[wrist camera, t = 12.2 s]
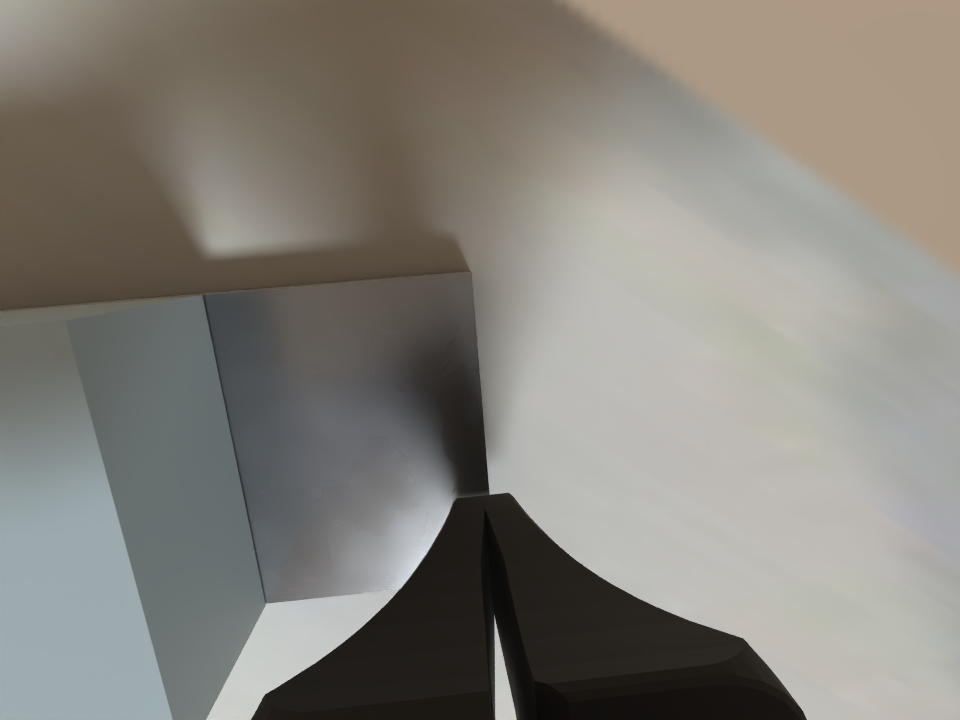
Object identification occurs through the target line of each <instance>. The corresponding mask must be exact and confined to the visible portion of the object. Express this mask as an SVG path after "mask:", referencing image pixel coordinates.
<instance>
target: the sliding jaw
mask: <svg viewBox="0 0 960 720" xmlns="http://www.w3.org/2000/svg"><path fill="white" fill-rule="evenodd" d="M265 605H266V604H265V599H264V594H263V589H262V584H261V579H260V575H259V570H258V565H257V560H256V555H255V550H254V545H253V540H252V535H251V531H250V526H249V521H248V516H247V511H246V506H245V501H244V496H243V491H242V487H241V482H240V477H239V472H238V467H237V462H236V457H235V452H234V447H233V442H232V438H231V433H230V428H229V423H228V418H227V413H226V408H225V403H224V398H223V394H222V389H221V384H220V379H219V374H218V369H217V364H216V359H215V354H214V350H213V345H212V340H211V335H210V330H209V325H208V320H207V315H206V310H205V306H204V301H203V296H202V295H197V296H185V297H173V298H161V299H148V300H136V301H124V302H112V303H100V304H88V305H76V306H64V307H52V308H40V309H28V310H16V311H4V312H0V720H206V718H207V716H208V715H209V713H210V711H211V709H212V707H213V705H214V703H215V701H216V699H217V697H218V695H219V693H220V692H221V690H222V688H223V686H224V684H225V682H226V680H227V678H228V676H229V674H230V672H231V670H232V668H233V667H234V665H235V663H236V661H237V659H238V657H239V655H240V653H241V651H242V649H243V647H244V645H245V644H246V642H247V640H248V638H249V636H250V634H251V632H252V630H253V628H254V626H255V624H256V622H257V621H258V619H259V617H260V615H261V613H262V611H263V609H264V607H265Z"/></svg>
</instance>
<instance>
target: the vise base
mask: <svg viewBox="0 0 960 720" xmlns="http://www.w3.org/2000/svg"><path fill="white" fill-rule="evenodd" d="M197 295H202V296H203V301H204V306H205V310H206V315H207V320H208V325H209V330H210V335H211V340H212V345H213V350H214V354H215V359H216V364H217V369H218V374H219V379H220V384H221V389H222V394H223V398H224V403H225V408H226V413H227V418H228V423H229V428H230V433H231V438H232V442H233V447H234V452H235V457H236V462H237V467H238V472H239V477H240V482H241V487H242V491H243V496H244V501H245V506H246V511H247V516H248V521H249V526H250V531H251V535H252V540H253V545H254V550H255V555H256V560H257V565H258V570H259V575H260V579H261V584H262V589H263V594H264V599H265V604H266V603H275V602H285V601H294V600H304V599H313V598H322V597H332V596H341V595H351V594H360V593H369V592H379V591H388V590H397V589H401V587H402V586H403V585H404V584H405V583H406V581H407V580H408V579H409V577H410V576H411V575H412V574H413V572H414V571H415V570H416V568H417V567H418V565H419V564H420V562H421V561H422V559H423V558H424V556H425V555H426V554H427V552H428V551H429V549H430V547H431V546H432V544H433V542H434V541H435V539H436V537H437V535H438V534H439V532H440V530H441V528H442V526H443V524H444V522H445V520H446V518H447V516H448V514H449V512H450V509H451V507H452V503H453V502H454V501H455V500H456V499H457V498H465V497H474V496H484V495H489V484H488V472H487V459H486V447H485V435H484V423H483V410H482V398H481V386H480V374H479V361H478V349H477V337H476V325H475V312H474V300H473V288H472V276H471V272H470V271H465V272H453V273H441V274H429V275H417V276H404V277H392V278H380V279H368V280H356V281H344V282H332V283H320V284H308V285H296V286H284V287H272V288H259V289H247V290H235V291H223V292H211V293H199V294H187V295H175V296H163V297H151V298H139V299H127V300H114V301H102V302H90V303H78V304H66V305H54V306H42V307H30V308H18V309H6V310H0V312H4V311H16V310H28V309H40V308H52V307H64V306H76V305H88V304H100V303H112V302H124V301H136V300H148V299H161V298H173V297H185V296H197Z"/></svg>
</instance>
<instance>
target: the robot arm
mask: <svg viewBox="0 0 960 720" xmlns="http://www.w3.org/2000/svg"><path fill="white" fill-rule="evenodd" d="M494 615H495V619H496V624H497V629H498V633H499V638H500V643H501V647H502V652H503V656H504V661H505V666H506V670H507V675H508V679H509V684H510V689H511V693H512V698H513V702H514V707H515V712H516V718H517V720H807V719H806V717H805V715H804V713H803V711H802V709H801V708H800V707H799V705H798V704H797V703H796V701H795V700H794V699H793V697H792V696H791V695H790V693H789V692H788V691H787V689H786V688H785V687H784V685H783V684H782V683H781V681H780V680H779V679H778V678H777V677H776V675H775V674H774V673H773V672H772V670H771V669H770V668H769V667H768V665H767V664H766V663H765V662H764V661H763V660H762V659H761V658H760V657H759V656H758V654H757V653H756V652H755V651H754V650H753V649H752V648H751V647H750V646H749V644H748V643H747V642H746V641H745V640H744V639H743V638H740V637H737V636H734V635H731V634H728V633H725V632H722V631H719V630H716V629H713V628H710V627H707V626H704V625H701V624H697V623H694V622H691V621H689V620H686V619H683V618H681V617H679V616H676V615H674V614H672V613H669V612H667V611H664V610H662V609H660V608H657V607H655V606H653V605H651V604H649V603H647V602H644V601H642V600H640V599H638V598H636V597H634V596H632V595H631V594H629V593H627V592H625V591H623V590H621V589H620V588H618V587H616V586H614V585H612V584H611V583H609V582H607V581H606V580H604V579H602V578H601V577H599V576H598V575H596V574H595V573H593V572H592V571H590V570H589V569H587V568H586V567H584V566H583V565H582V564H580V563H579V562H577V561H576V560H575V559H573V558H572V557H571V556H570V555H569V554H567V553H566V552H565V551H564V550H563V549H562V548H560V547H559V546H558V545H557V544H556V543H555V542H554V541H553V540H552V539H551V538H550V537H549V536H548V535H547V534H546V533H545V532H544V531H543V530H542V529H541V528H540V527H539V526H538V525H537V524H536V523H535V522H534V521H533V520H532V519H531V518H530V517H529V516H528V514H527V513H526V512H525V511H524V510H523V508H522V507H521V506H520V505H519V503H518V502H517V501H516V499H515V498H514V497H513V496H512V495H511V494H510V493H503V494H494V495H484V496H474V497H465V498H457V499H456V500H455V501H454V502H453V503H452V507H451V509H450V512H449V514H448V516H447V518H446V520H445V522H444V524H443V526H442V528H441V530H440V532H439V534H438V535H437V537H436V539H435V541H434V542H433V544H432V546H431V547H430V549H429V551H428V552H427V554H426V555H425V556H424V558H423V559H422V561H421V562H420V564H419V565H418V567H417V568H416V570H415V571H414V572H413V574H412V575H411V576H410V577H409V579H408V580H407V581H406V583H405V584H404V585H403V586H402V587H401V589H400V590H399V591H398V592H397V593H396V594H395V596H394V597H393V598H392V599H391V600H390V601H389V602H388V603H387V604H386V605H385V606H384V607H383V608H382V609H381V610H380V611H379V612H378V613H377V614H376V615H375V616H374V617H373V618H371V619H370V620H369V621H368V622H367V623H366V624H365V625H364V626H363V627H362V628H361V629H359V630H358V631H357V632H356V633H355V634H353V635H352V636H351V637H350V638H348V639H347V640H346V641H345V642H344V643H342V644H341V645H340V646H338V647H337V648H336V649H334V650H333V651H332V652H330V653H329V654H328V655H326V656H325V657H323V658H322V659H321V660H319V661H318V662H316V663H315V664H313V665H312V666H310V667H309V668H307V669H305V670H304V671H302V672H301V673H299V674H298V675H296V676H294V677H293V678H291V679H290V680H288V681H287V682H285V683H284V684H282V685H280V686H279V687H277V688H276V689H274V690H272V691H270V692H269V693H267V694H265V696H264V697H263V699H262V701H261V703H260V705H259V707H258V709H257V710H256V712H255V714H254V716H253V717H252V719H251V720H495V641H494Z"/></svg>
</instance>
